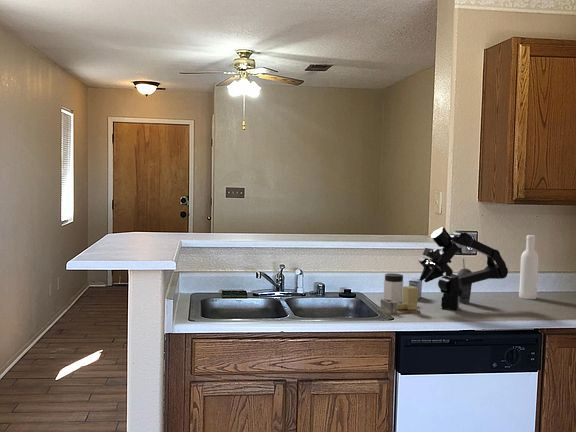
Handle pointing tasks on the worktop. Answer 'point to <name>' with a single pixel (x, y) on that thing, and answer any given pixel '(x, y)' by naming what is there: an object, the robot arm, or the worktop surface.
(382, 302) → the board
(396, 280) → the lidded container
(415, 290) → the tan rectangular block
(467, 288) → the beverage cup
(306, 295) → the worktop surface
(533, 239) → the bottle
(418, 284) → the medicine box
